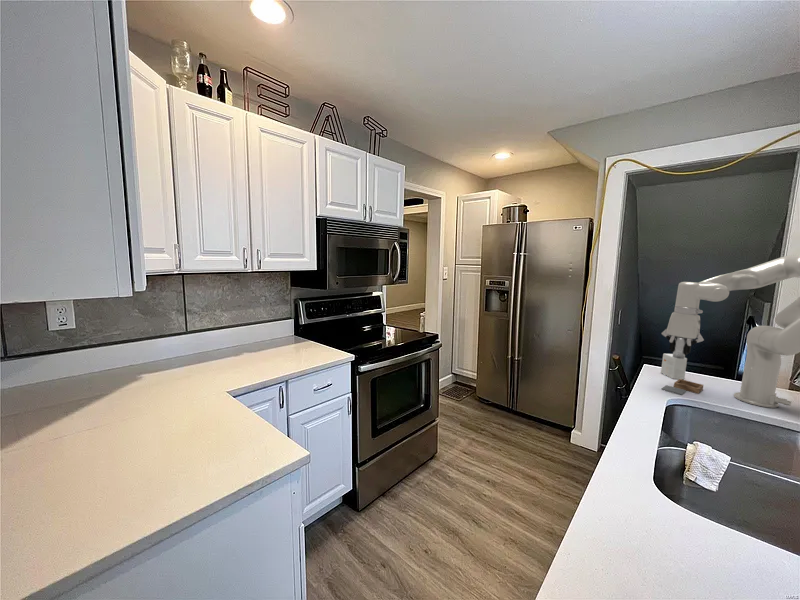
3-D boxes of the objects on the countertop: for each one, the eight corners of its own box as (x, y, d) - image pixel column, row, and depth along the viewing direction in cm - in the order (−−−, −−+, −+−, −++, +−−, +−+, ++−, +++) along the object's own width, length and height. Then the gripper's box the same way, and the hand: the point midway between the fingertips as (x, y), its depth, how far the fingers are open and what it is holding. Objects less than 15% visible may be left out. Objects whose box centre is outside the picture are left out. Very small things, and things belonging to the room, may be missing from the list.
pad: (686, 391, 143) (686, 390, 143) (681, 395, 138) (681, 393, 138) (666, 386, 148) (666, 385, 148) (661, 389, 144) (661, 388, 144)
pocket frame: (702, 389, 146) (703, 384, 146) (698, 393, 141) (699, 388, 141) (678, 383, 153) (679, 378, 152) (673, 387, 147) (674, 382, 147)
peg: (685, 358, 141) (689, 337, 140) (683, 359, 139) (686, 338, 137) (673, 355, 144) (677, 335, 143) (671, 357, 142) (674, 336, 141)
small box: (684, 379, 158) (687, 358, 157) (672, 379, 158) (676, 358, 157) (671, 373, 166) (674, 353, 165) (660, 373, 166) (663, 353, 165)
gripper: (714, 313, 134) (707, 356, 137) (664, 307, 148) (658, 346, 150) (710, 315, 130) (703, 359, 132) (658, 308, 143) (652, 349, 145)
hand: (679, 352), depth 141 cm, fingers closed on peg, 4 cm apart
